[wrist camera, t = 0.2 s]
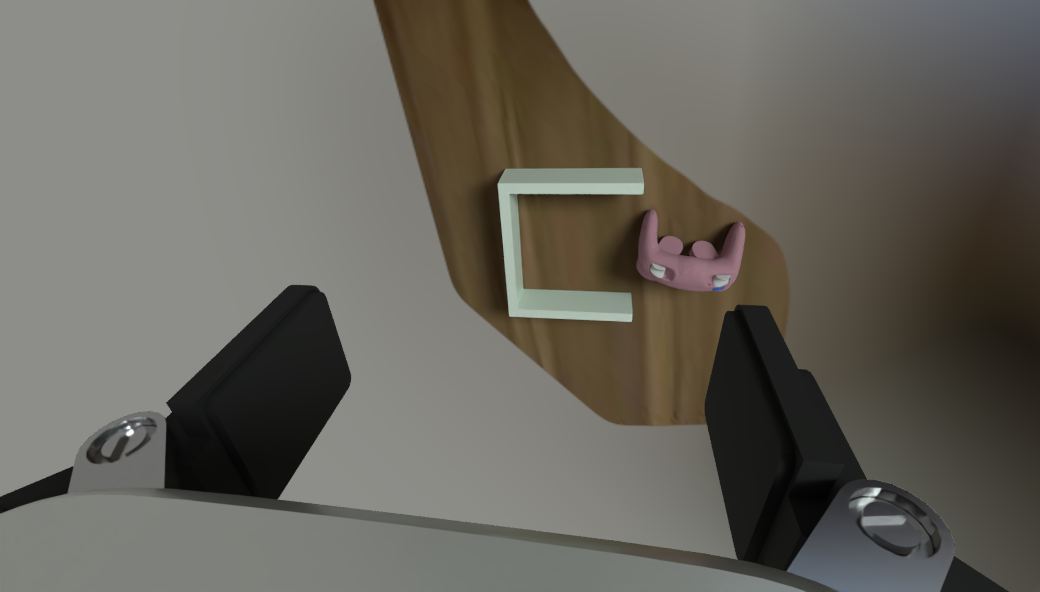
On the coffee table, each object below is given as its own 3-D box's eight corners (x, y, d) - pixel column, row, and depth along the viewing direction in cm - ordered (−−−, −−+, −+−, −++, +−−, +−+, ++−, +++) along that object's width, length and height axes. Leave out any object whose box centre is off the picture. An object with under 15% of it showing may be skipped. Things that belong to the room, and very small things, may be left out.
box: (505, 168, 47) (497, 183, 44) (641, 168, 45) (644, 183, 41) (515, 296, 55) (509, 316, 52) (630, 300, 53) (631, 321, 50)
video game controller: (634, 231, 50) (630, 288, 47) (645, 203, 46) (641, 263, 43) (730, 246, 49) (732, 304, 46) (749, 218, 45) (753, 280, 42)
